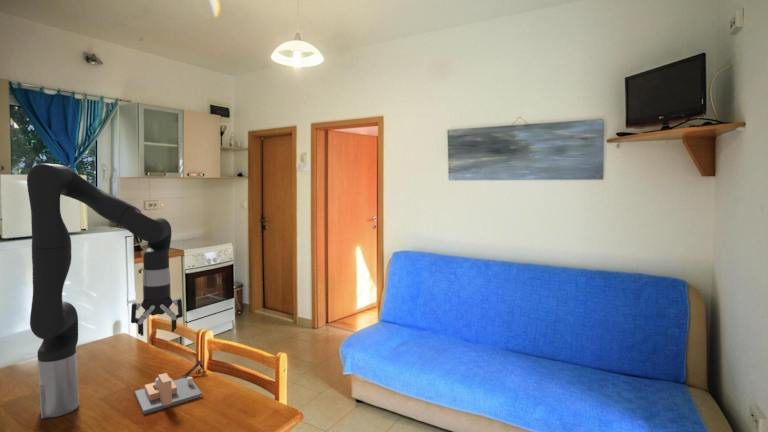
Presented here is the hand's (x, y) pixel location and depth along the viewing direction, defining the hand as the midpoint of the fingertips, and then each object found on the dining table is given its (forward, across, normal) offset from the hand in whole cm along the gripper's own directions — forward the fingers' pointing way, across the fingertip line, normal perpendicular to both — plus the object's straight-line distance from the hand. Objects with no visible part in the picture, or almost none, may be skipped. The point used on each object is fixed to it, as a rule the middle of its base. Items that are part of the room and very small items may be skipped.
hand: (157, 332), depth 133 cm
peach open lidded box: (+21, +1, +1) cm, 22 cm away
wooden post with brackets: (+23, +11, +16) cm, 31 cm away
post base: (+23, +3, +4) cm, 23 cm away
